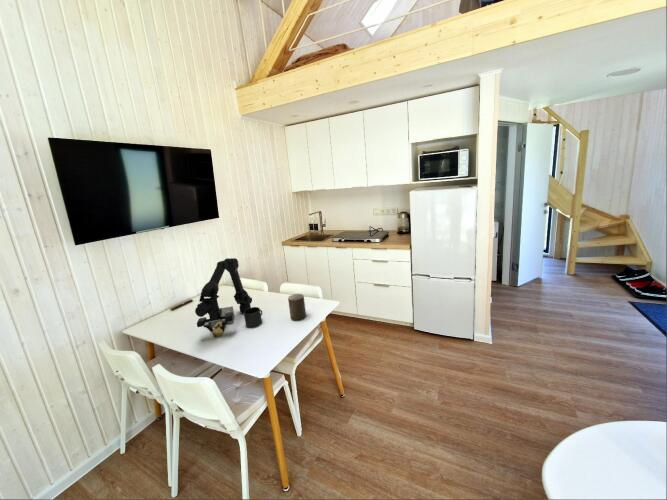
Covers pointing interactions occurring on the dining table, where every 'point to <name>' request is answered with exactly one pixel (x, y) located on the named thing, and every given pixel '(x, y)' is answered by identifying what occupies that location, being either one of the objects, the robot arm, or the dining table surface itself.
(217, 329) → the gold cylindrical piece
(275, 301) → the dining table surface
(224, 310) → the block
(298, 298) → the pillar candle
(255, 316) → the mug
